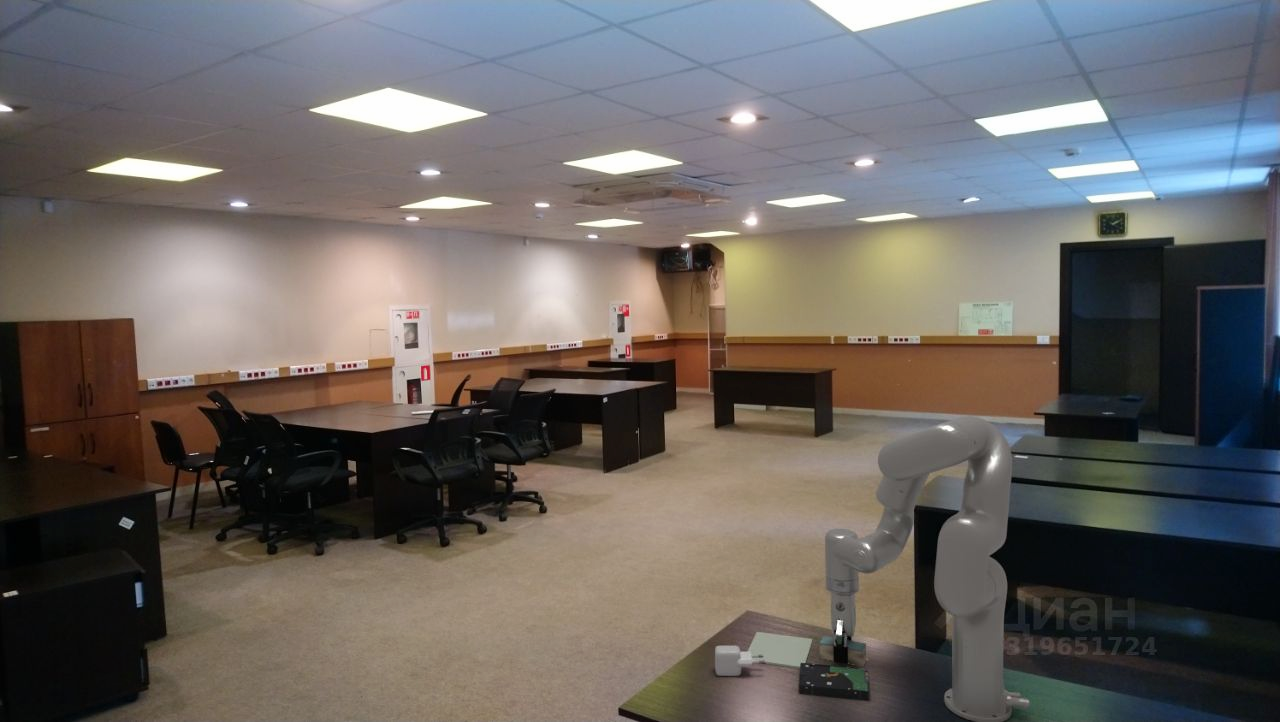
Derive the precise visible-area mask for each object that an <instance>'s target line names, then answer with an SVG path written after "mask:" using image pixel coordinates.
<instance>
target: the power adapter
mask: <svg viewBox="0 0 1280 722" xmlns="http://www.w3.org/2000/svg"><path fill="white" fill-rule="evenodd" d="M752 658H763V655H753V654H751V652H747V651H741V648H740V647H739V646H738V645H716V646H715V647H714V667H715V668H714V669H715V674H716V676H719V677H727V676H728V677H739V676H741V674H742V667H753V664H761V663H764V662H765V661H764V660H752Z"/></svg>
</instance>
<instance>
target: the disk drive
mask: <svg viewBox="0 0 1280 722" xmlns="http://www.w3.org/2000/svg"><path fill="white" fill-rule="evenodd" d="M798 677H799V680H798V694H799V695H804V696H805V695H806V696H818V697H827V698H836V699H837V698H838V699H847V700H856V701H865V702H870V699H871V698H870V691H871V690H870V682H869V681H870V679H869V673H868V669H864V668H861V667H860V668H859V667H857V666H856V667H854V666H852V667H851V666H843V665H841V666H840V665H830V664H821V663H809V662H806V663H801V664H800V669H799V676H798Z"/></svg>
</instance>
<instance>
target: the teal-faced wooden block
mask: <svg viewBox="0 0 1280 722" xmlns="http://www.w3.org/2000/svg"><path fill="white" fill-rule="evenodd" d="M843 640H844V639H843ZM833 645H834V636H833V637H832V636H827V635H823V636H822V638H821V640H820V641H819V659H820V658H821V659H820V660H824V659H827V660H826V661H829V660H833V661H832V662H834V659H833ZM847 646H848V663H849V664H848V665H850V664H854V665H853V666H855V665H859V666H858V667H861V666H863V665H865V664H864V663H866V661H867V643H865V642H860V641H854V640H852V641H849V640H847ZM865 660H866V661H865ZM863 667H864V666H863Z"/></svg>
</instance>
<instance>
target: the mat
mask: <svg viewBox="0 0 1280 722" xmlns="http://www.w3.org/2000/svg"><path fill="white" fill-rule="evenodd" d="M813 640H814V639H813V638H807V637H806V638H805V637H800V636H792V635H791V636H790V635H784V634H776V633H768V632H763V631H762V632H760V631H756V633H755V634H754V637H753V640H752V641H751V644H750V646H748V647H749V648H748V650H747V651H746V652H751V654H753V655H763V658H752V660H764V661H765V662H764V663H766V664H765V665H768V664H772V665H771V666H775V665H778V666H777V667H782V666H785V667H784V668H788V667H790V668H789V669H796V670H800V664H801V663H807V661H808V657H809V655H808V654H810V651H811V648H812V645H813V642H812V641H813ZM811 644H812V645H811Z"/></svg>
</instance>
